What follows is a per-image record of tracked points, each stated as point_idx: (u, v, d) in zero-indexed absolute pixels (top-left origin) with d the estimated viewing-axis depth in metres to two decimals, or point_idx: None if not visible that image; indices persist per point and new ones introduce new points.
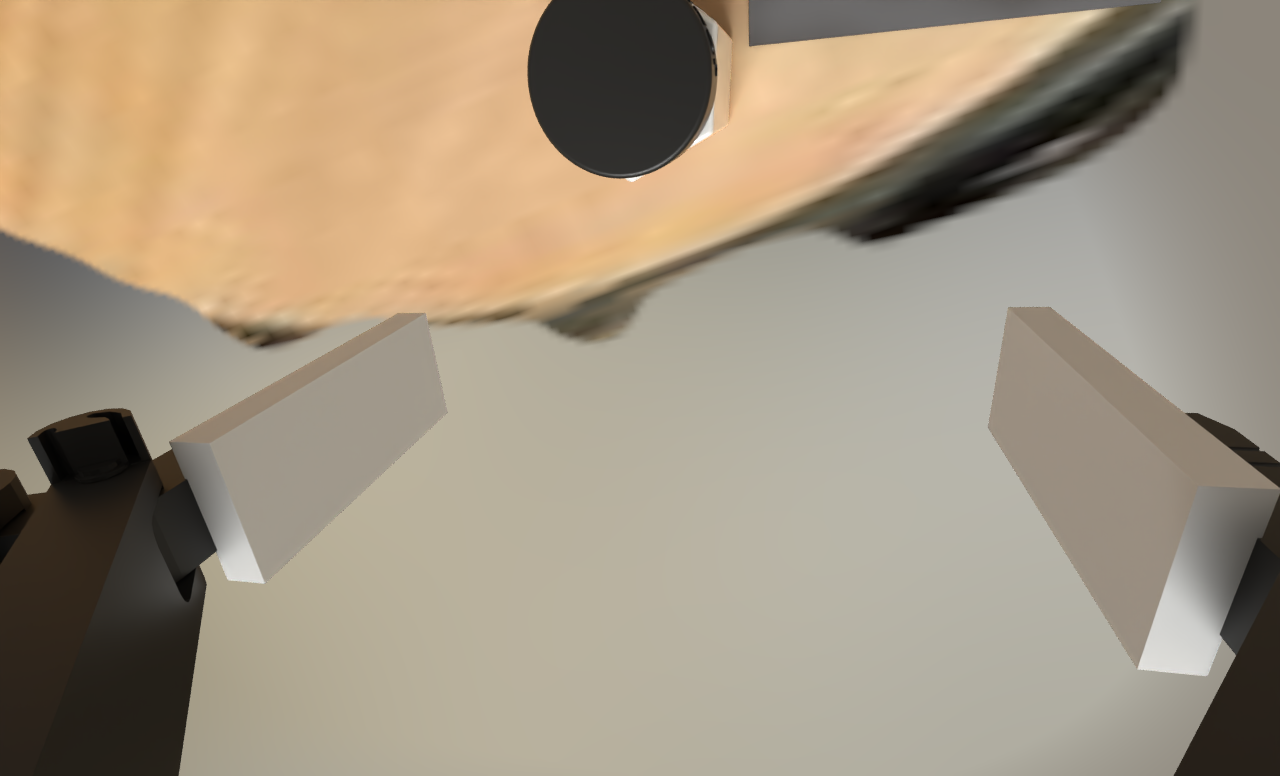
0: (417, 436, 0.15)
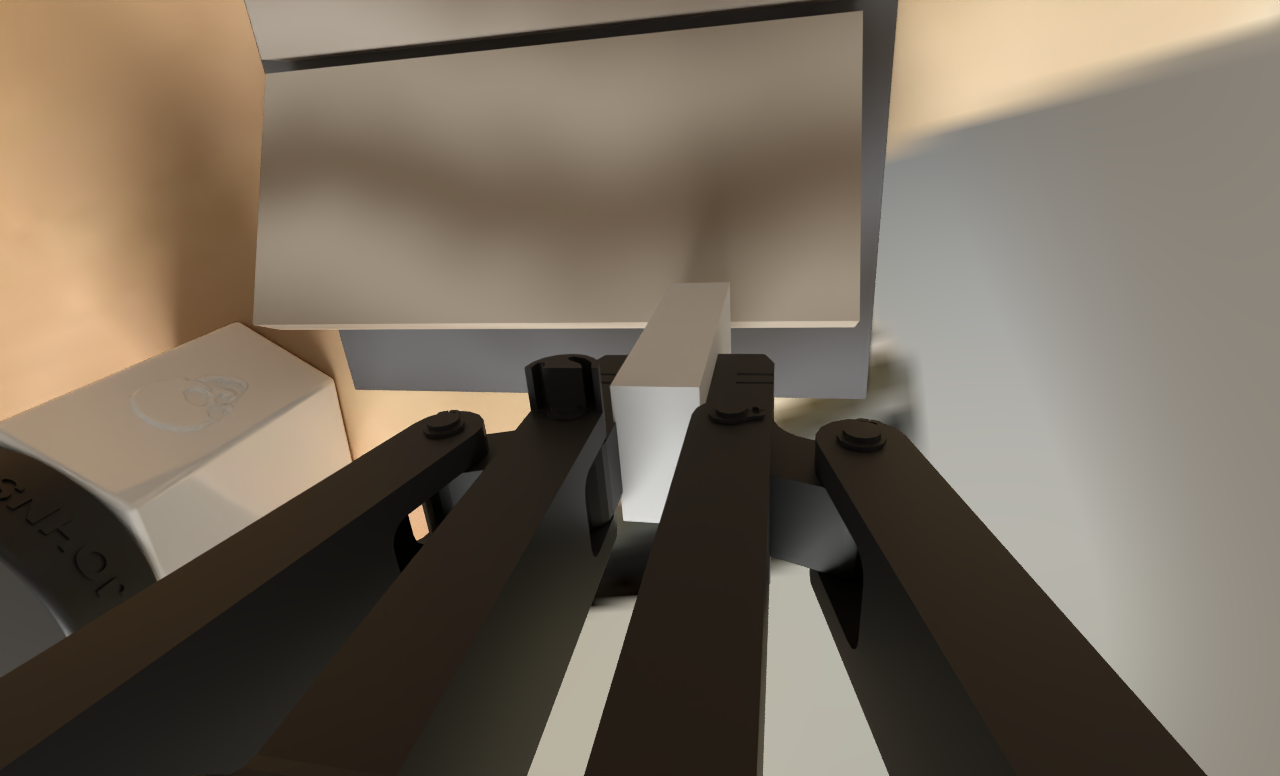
0: None
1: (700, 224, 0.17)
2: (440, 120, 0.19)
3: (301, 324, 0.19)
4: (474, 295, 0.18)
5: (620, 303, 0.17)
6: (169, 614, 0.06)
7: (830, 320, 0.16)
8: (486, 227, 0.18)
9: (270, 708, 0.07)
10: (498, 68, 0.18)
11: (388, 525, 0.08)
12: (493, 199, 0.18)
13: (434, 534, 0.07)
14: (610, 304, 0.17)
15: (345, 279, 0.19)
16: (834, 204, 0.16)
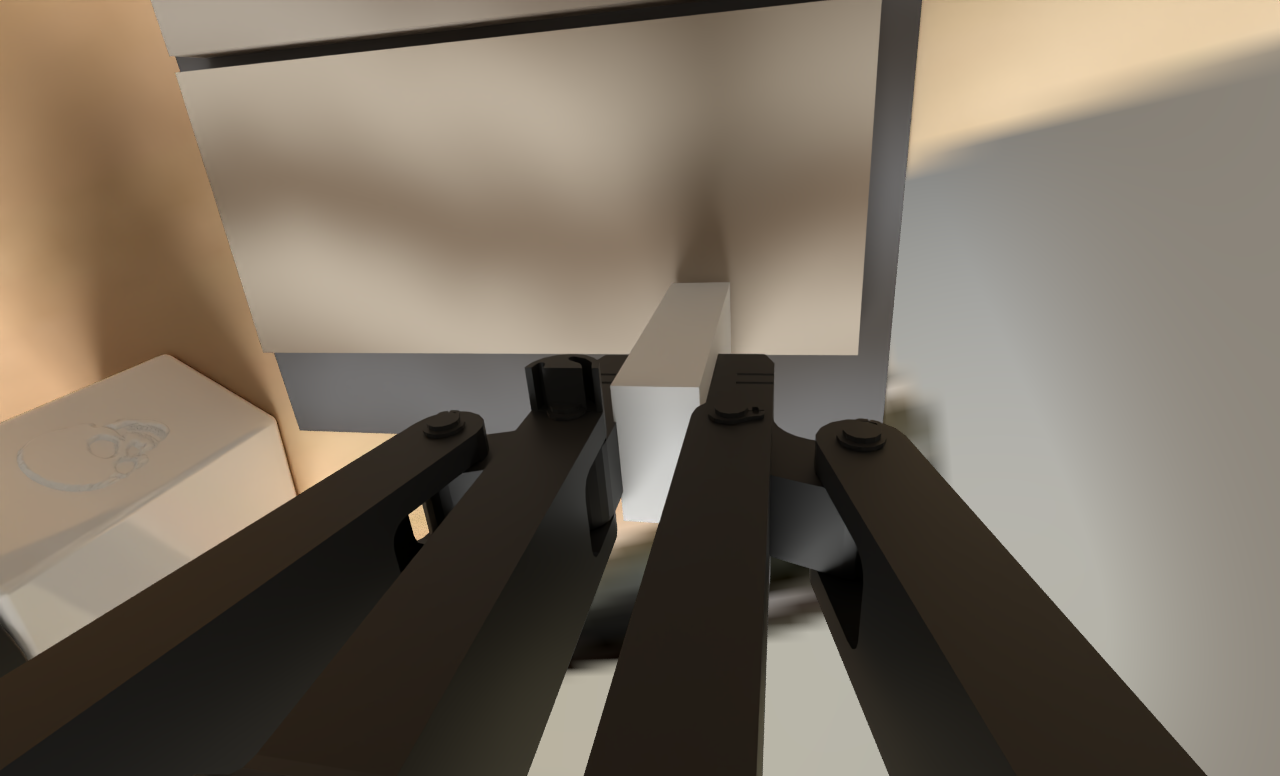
0: None
1: (697, 257, 0.16)
2: (396, 135, 0.16)
3: (311, 351, 0.20)
4: (475, 327, 0.18)
5: (622, 336, 0.17)
6: (169, 615, 0.06)
7: (829, 353, 0.16)
8: (473, 258, 0.17)
9: (270, 708, 0.07)
10: (448, 69, 0.16)
11: (389, 525, 0.08)
12: (474, 228, 0.17)
13: (434, 534, 0.07)
14: (612, 337, 0.17)
15: (341, 310, 0.19)
16: (837, 238, 0.15)
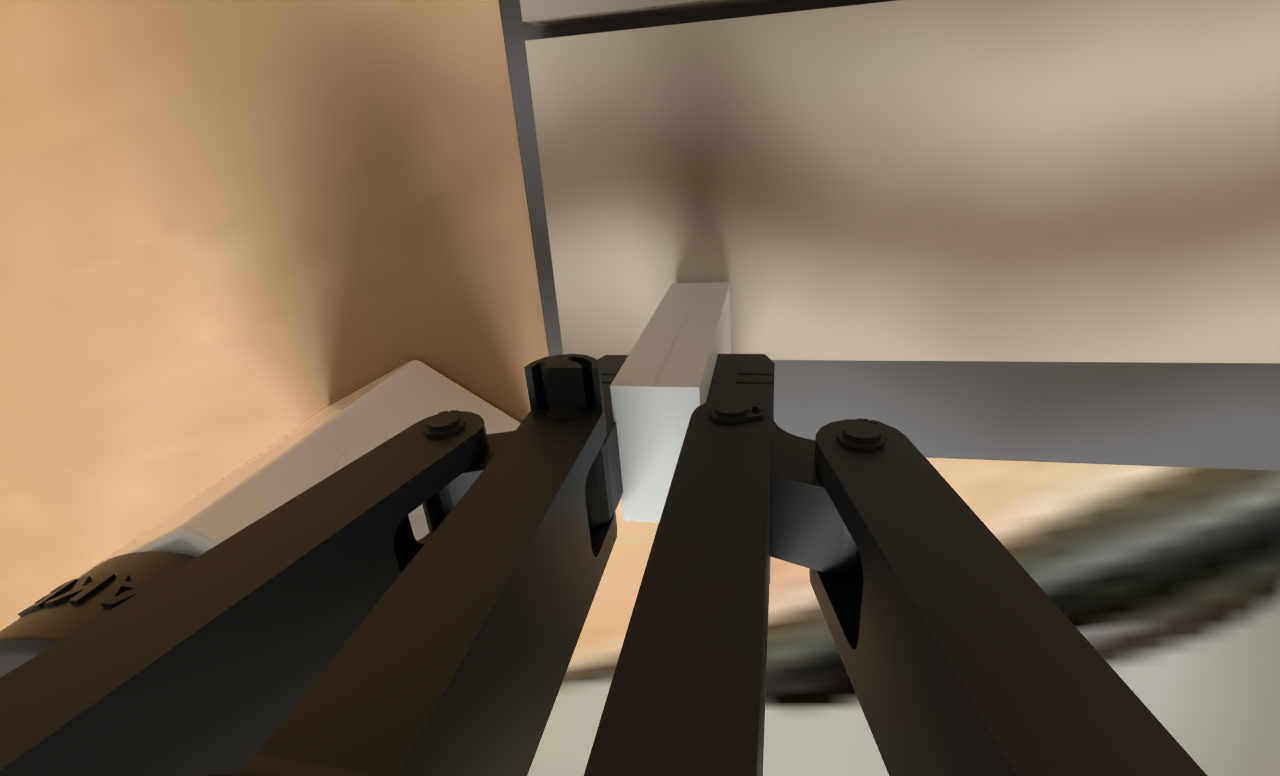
0: None
1: (1147, 251, 0.14)
2: (791, 111, 0.14)
3: None
4: (839, 331, 0.16)
5: (1025, 341, 0.15)
6: (170, 614, 0.06)
7: None
8: (856, 252, 0.15)
9: (270, 708, 0.07)
10: (879, 33, 0.13)
11: (389, 524, 0.08)
12: (865, 218, 0.15)
13: (434, 534, 0.07)
14: (1012, 342, 0.15)
15: None
16: None
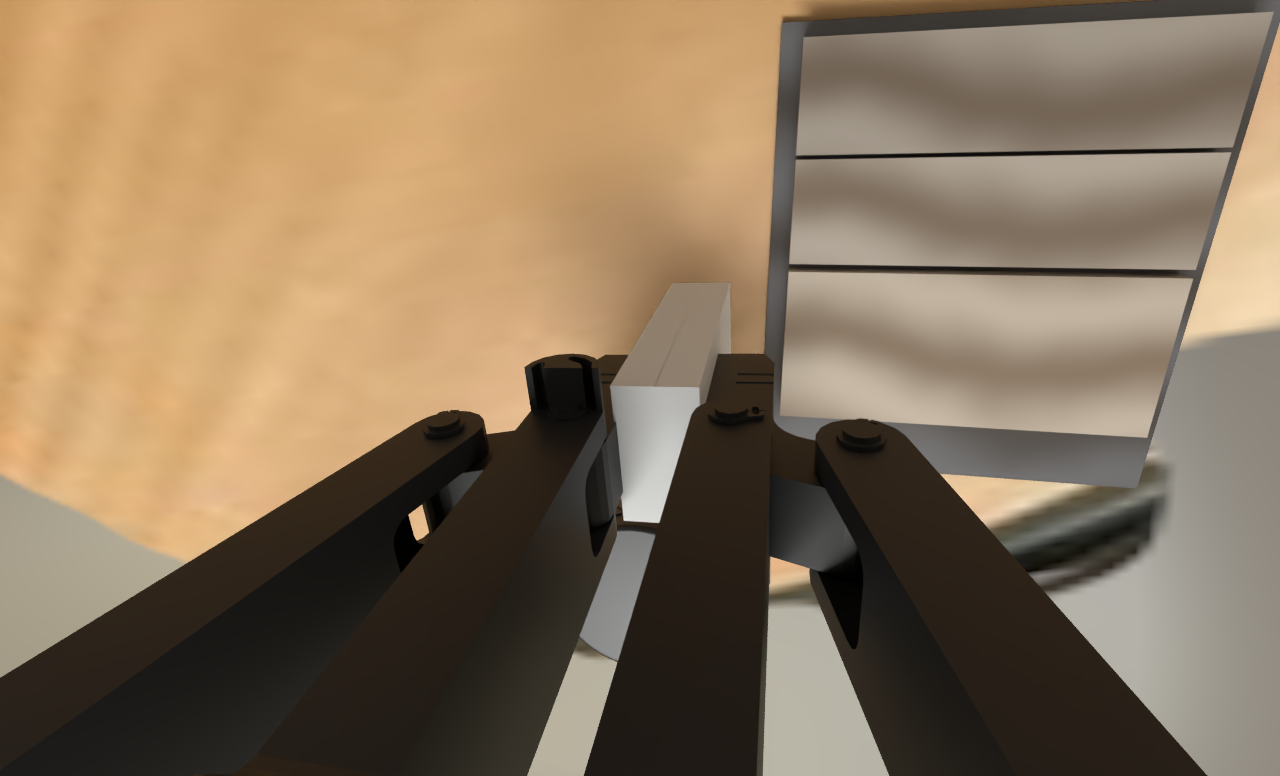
0: None
1: (1068, 384, 0.32)
2: (911, 313, 0.32)
3: (811, 416, 0.35)
4: (925, 410, 0.33)
5: (1013, 420, 0.33)
6: (169, 615, 0.06)
7: (1130, 436, 0.32)
8: (936, 375, 0.33)
9: (270, 708, 0.07)
10: (954, 286, 0.31)
11: (388, 525, 0.08)
12: (942, 361, 0.32)
13: (434, 534, 0.07)
14: (1007, 420, 0.33)
15: (842, 396, 0.34)
16: (1148, 380, 0.31)
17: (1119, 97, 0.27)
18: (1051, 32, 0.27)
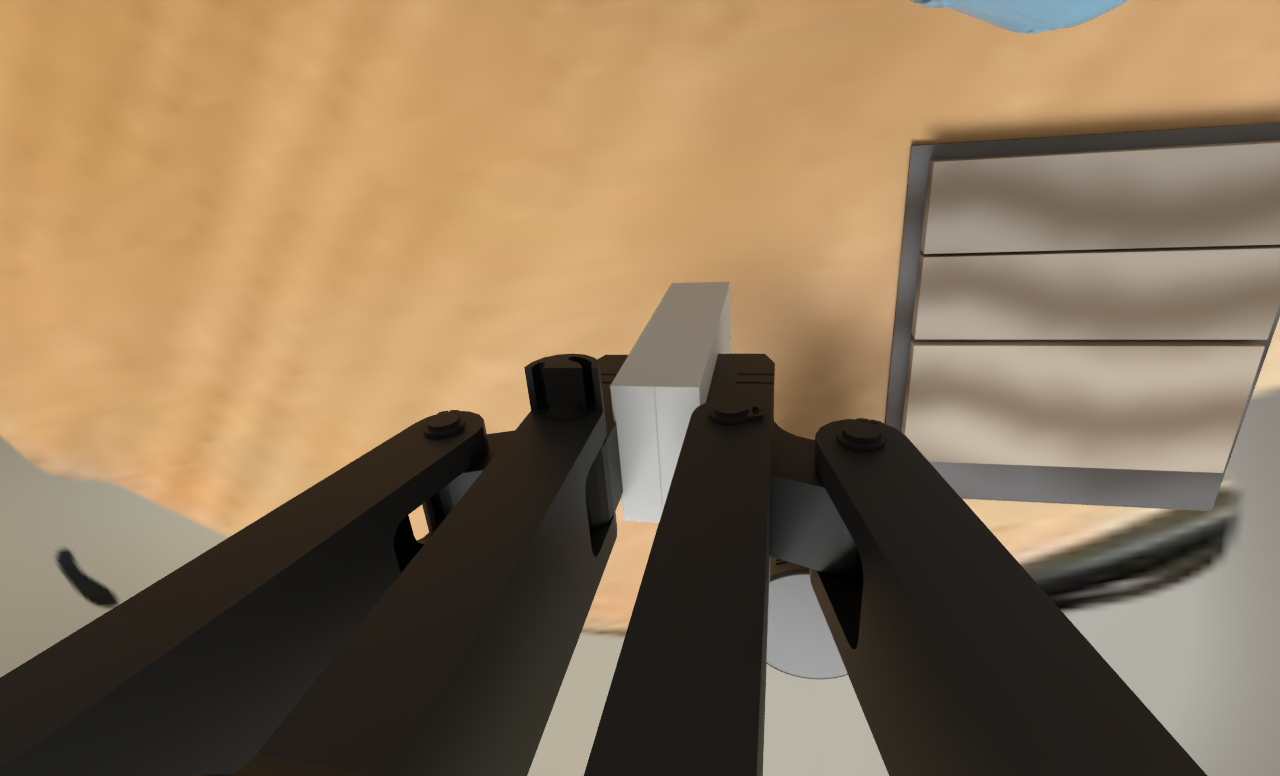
0: None
1: (1155, 431, 0.38)
2: (1020, 377, 0.38)
3: (929, 461, 0.41)
4: (1030, 454, 0.40)
5: (1107, 461, 0.39)
6: (169, 615, 0.06)
7: (1209, 471, 0.38)
8: (1041, 426, 0.39)
9: (270, 708, 0.07)
10: (1058, 355, 0.37)
11: (388, 525, 0.08)
12: (1046, 414, 0.39)
13: (434, 534, 0.07)
14: (1101, 461, 0.39)
15: (957, 443, 0.40)
16: (1224, 427, 0.37)
17: (1204, 206, 0.33)
18: (1147, 156, 0.32)
